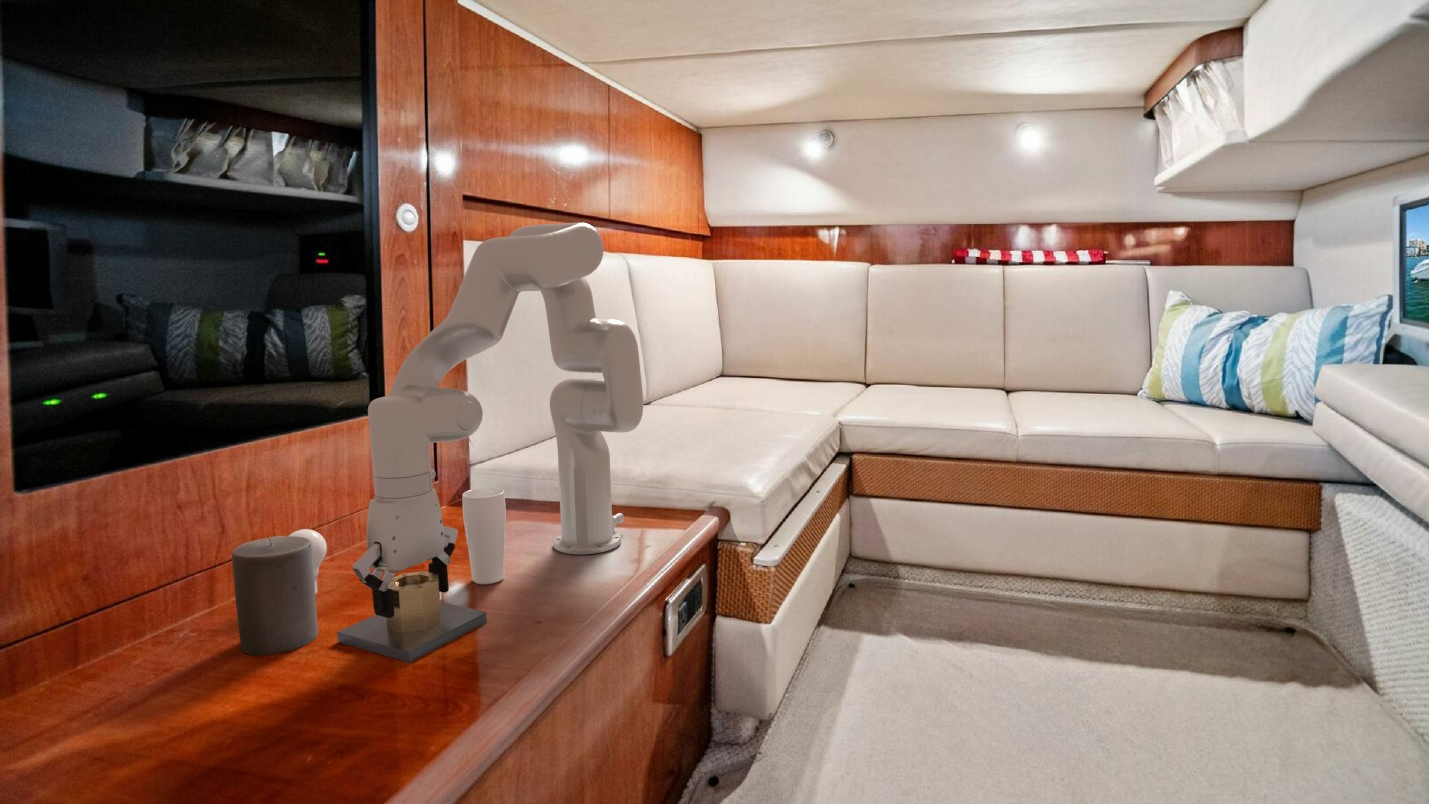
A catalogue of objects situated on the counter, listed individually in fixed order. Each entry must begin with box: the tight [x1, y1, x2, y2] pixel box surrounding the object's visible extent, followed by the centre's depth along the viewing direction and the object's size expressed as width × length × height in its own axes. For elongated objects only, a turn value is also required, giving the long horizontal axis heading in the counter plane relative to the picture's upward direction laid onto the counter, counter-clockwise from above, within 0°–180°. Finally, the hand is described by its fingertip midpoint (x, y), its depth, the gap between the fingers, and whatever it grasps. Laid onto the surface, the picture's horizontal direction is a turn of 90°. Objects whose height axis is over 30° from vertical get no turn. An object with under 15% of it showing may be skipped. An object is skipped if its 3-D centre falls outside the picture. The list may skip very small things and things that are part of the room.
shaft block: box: [337, 584, 488, 663], centre depth 112 cm, size 14×14×6 cm
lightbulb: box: [288, 528, 328, 595], centre depth 125 cm, size 6×6×11 cm
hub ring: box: [387, 570, 441, 633], centre depth 112 cm, size 7×7×6 cm
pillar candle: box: [231, 535, 319, 656], centre depth 109 cm, size 10×10×15 cm
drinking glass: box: [461, 487, 507, 585], centre depth 131 cm, size 7×7×15 cm
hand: (413, 602), depth 112 cm, fingers open, 9 cm apart
